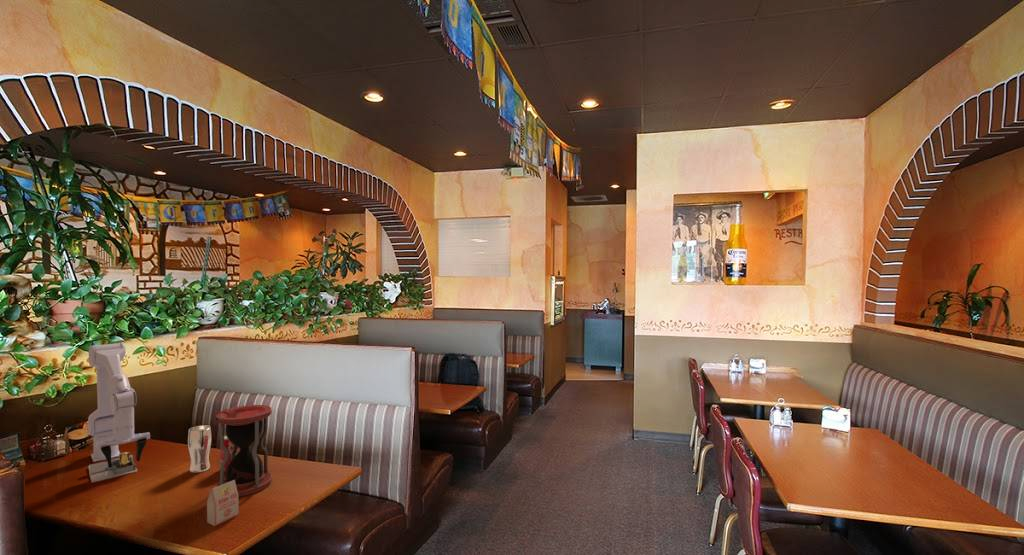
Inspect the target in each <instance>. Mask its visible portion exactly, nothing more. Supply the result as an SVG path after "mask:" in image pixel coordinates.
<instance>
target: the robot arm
mask: <svg viewBox="0 0 1024 555" xmlns="http://www.w3.org/2000/svg"><path fill="white" fill-rule="evenodd" d="M125 356H126V346H125V344H124V343H123V342H118V343H117V342H115V343H107V344H106V343H105V344H95V345H94V344H93V345H91V346H89V348H88V364H89V367H94V368H95V371H96V390H97V391H96V393H97V396H96V398H97V400H96V401H97V409H96V410H94V411H93V412H92V413H90V414H89V416H88V417H87V424H86V426H87V427H86V428H87V433H88V435H89V436H91V437H93V438H92V439H93V441H92V442H93V453H91V454H90V457H91V459H92V463H93V462H94V463H96V462H100V461H104V460H106V462H108V467H109V468H111V467H112V463H111V459H115V458H119V454H120V453H121V451H120V450H119V446H120V445H123V444H128V443H129V444H130V443H132V442H135V444H136V454H135V457H136V461H137V462H140V461H141V457H142V456H141V455H142V452H143V451H144V448H145V447H146V445H147V443H148V440H149V439H151V433H150V432H149V431H148V432H142V433H135V407H136V405H137V399H138V398H137V393H136V391H135V389H134V388H132V387H131V384H130V382H129V377H128V376H127V375H125V374H123V370H122V369H123V368H122V363H121V362H122V361H123V360H124V358H125Z"/></svg>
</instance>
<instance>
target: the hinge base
mask: <svg viewBox="0 0 1024 555" xmlns="http://www.w3.org/2000/svg"><path fill="white" fill-rule="evenodd" d="M105 462H106V461H101V462H100V461H99V462H97V463H96V462H95V463H92V464H89V465H88V466H89V468H88V472H89V473H88V474H89V478H90V481H91V483H96V482H100V481H104V480H110V479H113V478H117V477H121V476H125V475H129V474H133V473H137V472H138V468H137V467H136V463H135V462H134V460H133V461H129V466H127V467H122V468H119V464H116V465H113V469H112V470H108V471H107V470H105Z"/></svg>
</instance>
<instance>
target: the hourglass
mask: <svg viewBox="0 0 1024 555" xmlns="http://www.w3.org/2000/svg"><path fill="white" fill-rule="evenodd" d="M272 411H273V409H272V407H271V406H269V405H264V404H249V405H241V406H235V407H231V408H226V409H224V410H222V411H219V412H218V413H217V414H216V415H215V422H216V423H218V424H219V447H220V446H221V448H222V449H223V450H224V451H225V458H224V461H223V462H222V464H221V466H220V467H219V469H220V470H219V476H220V477H219V482H218V483H217V484H216V487H217V486H220V485H222V484H225V483H227V482H230V481H232V480H235V483H236V488H237V491H238V497H244V496H248V495H251V494H254V493H255V494H256V493H258V492H260V491H262V490H264V489H266V488H268V487H269V486H270V485H271V484H272V482H273V476H272V473H270V472H269V471H268V469H269V468H268V464H269V463H268V462H269V461H268V457H269V456H268V454H269V453H268V450H267V448H265V446H264V440H265V438H266V436H267V433H268V418H269V417H270V416H271V415H272V414H273V412H272ZM262 431H263V432H262ZM261 433H262V434H261ZM225 434H226V435H227V437H228V439H229V440H230V441H231V442H232V443H233V451H232V454H231V461H230V462H229V464H228V466H227V470H226V472H225V471H224V467H225V464H226V463H227V461H228V460H229V456H230V452H229V449H228V448H227V447H225V445H224V436H225ZM260 435H261V436H260ZM252 445H253V446H252ZM251 446H252V448H251V449H250V447H251ZM258 446H259V449H260V450H262V452H263V460H262V458H261V456H260V455H259V454H257V448H258ZM238 447H239V448H240V451H239V452H238V453H237V454H236V451H237V449H238ZM235 454H236V455H235ZM225 473H226V475H225Z"/></svg>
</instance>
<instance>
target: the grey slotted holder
mask: <svg viewBox="0 0 1024 555" xmlns="http://www.w3.org/2000/svg"><path fill="white" fill-rule="evenodd" d="M129 461H134V455H133V454H129ZM104 462H105V471H108V470H112V469H113V465H116V464H119V457H115V458H111V463H112V467H111V468H109V467H108V462H107V461H104ZM87 469H89V465H88V468H87Z"/></svg>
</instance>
